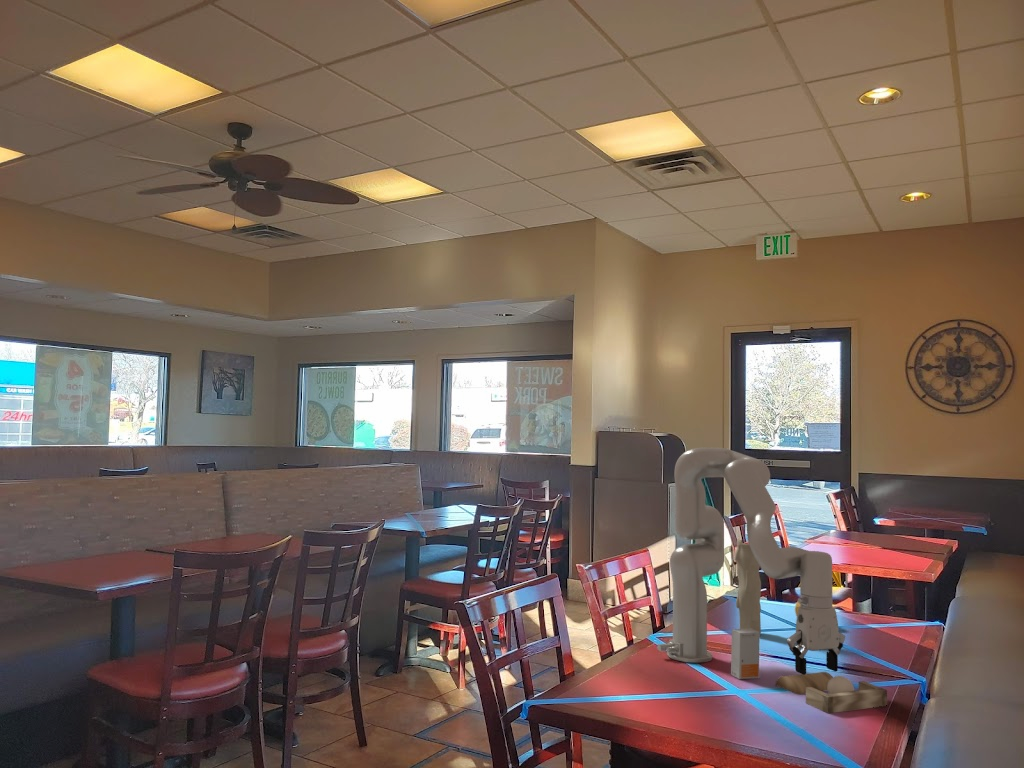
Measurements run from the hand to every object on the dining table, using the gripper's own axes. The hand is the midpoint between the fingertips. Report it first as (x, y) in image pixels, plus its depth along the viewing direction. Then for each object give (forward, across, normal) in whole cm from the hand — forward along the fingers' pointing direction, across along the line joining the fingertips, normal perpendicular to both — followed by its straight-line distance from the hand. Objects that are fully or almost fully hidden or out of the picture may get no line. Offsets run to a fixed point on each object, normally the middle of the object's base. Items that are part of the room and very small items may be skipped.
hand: (816, 671), depth 194 cm
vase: (+5, +20, +53) cm, 57 cm away
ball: (+2, 0, -8) cm, 8 cm away
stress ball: (+5, +47, +56) cm, 73 cm away
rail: (+5, 0, -10) cm, 11 cm away
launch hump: (+10, 0, +4) cm, 10 cm away
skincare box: (+5, -10, +15) cm, 19 cm away
